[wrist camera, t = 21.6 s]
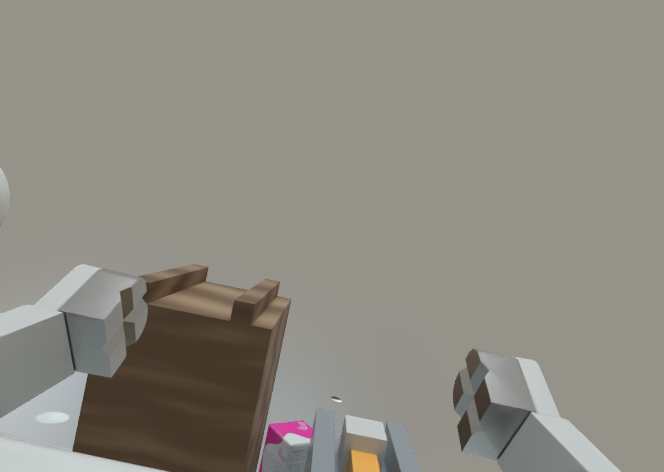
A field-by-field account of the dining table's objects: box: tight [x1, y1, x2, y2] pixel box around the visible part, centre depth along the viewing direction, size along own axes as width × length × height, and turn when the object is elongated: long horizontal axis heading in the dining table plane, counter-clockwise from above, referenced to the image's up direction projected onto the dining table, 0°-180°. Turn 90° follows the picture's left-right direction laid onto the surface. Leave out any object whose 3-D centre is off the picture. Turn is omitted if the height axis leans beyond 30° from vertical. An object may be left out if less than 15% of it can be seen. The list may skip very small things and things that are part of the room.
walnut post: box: [73, 264, 291, 472], centre depth 37 cm, size 14×12×32 cm
